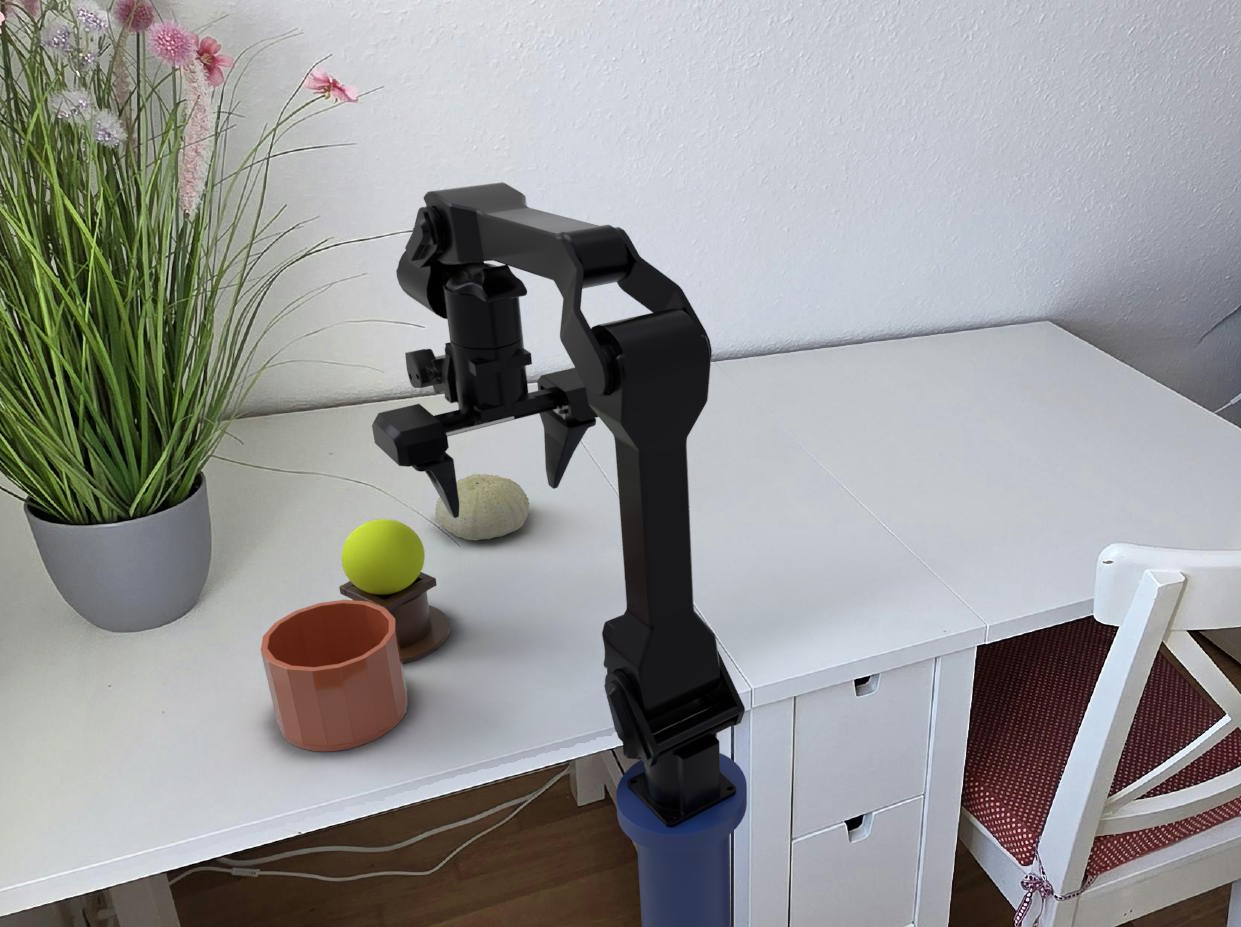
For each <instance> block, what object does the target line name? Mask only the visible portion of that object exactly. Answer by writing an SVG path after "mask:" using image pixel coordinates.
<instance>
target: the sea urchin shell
mask: <svg viewBox="0 0 1241 927" xmlns="http://www.w3.org/2000/svg"><path fill="white" fill-rule="evenodd" d="M456 482H457V489H458V497H459V517H457V518H454V517H453V516H451V515H450V513H449V512H448V510H447V508H446V506H445V505H444V503H443V501H442V499H441V498H440V497H438V499H437V500H436V504H435V513H434V514H435V517H436V520H437V521H438V522H439V524H440V525H441V526H442V527H443V529H444V530H446V531H447V532H449V533H451V534H453V536H455V537H458V538H462V539H465V540H467V541H480V540H491V539H494V538H498V537H499V538H500V537H501V538H502V537H504V536H506V535H508V534H511V533H515V532H516V531H517V530H519V529H521V528H522V527H523V525H524V524H525V522H526V520H527V518H528V516H529V515H530V513H529V511H530V501H529V500H530V499H529V497H528V496H527V494H526V492H525V490H524V489H523V488H522V487H521V485H520V484H518V483H517V482H516V481H514V480H512V479H511V478H507V477H502V476H500V475H497V474H495V475H493V474H487V473H482V474H479V473H478V474H477V473H474V474H471V475H467V476H466V477H463V478H459V479H456Z"/></svg>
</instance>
